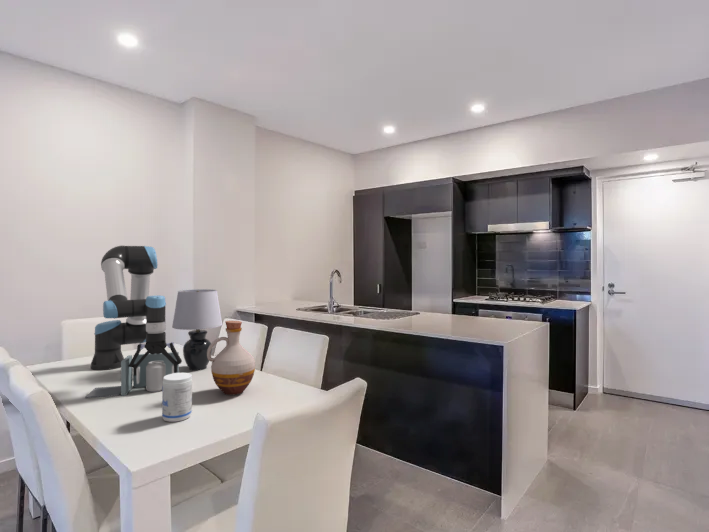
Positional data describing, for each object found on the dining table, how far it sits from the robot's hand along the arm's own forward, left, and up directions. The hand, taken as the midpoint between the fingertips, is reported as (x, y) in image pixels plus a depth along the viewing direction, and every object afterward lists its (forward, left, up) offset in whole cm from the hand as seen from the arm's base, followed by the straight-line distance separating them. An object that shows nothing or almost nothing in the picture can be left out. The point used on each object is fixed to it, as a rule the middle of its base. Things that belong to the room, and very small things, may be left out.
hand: (155, 381), depth 171 cm
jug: (+12, +31, -4) cm, 33 cm away
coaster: (-2, -19, -4) cm, 20 cm away
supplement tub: (+35, +13, -4) cm, 37 cm away
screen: (-2, -2, -3) cm, 5 cm away
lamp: (-32, +14, -4) cm, 35 cm away
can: (0, 0, -4) cm, 4 cm away
